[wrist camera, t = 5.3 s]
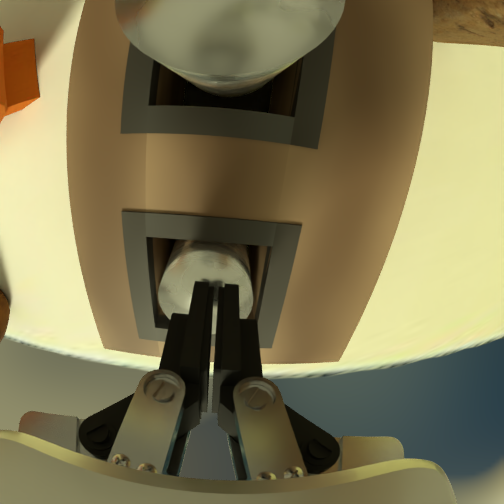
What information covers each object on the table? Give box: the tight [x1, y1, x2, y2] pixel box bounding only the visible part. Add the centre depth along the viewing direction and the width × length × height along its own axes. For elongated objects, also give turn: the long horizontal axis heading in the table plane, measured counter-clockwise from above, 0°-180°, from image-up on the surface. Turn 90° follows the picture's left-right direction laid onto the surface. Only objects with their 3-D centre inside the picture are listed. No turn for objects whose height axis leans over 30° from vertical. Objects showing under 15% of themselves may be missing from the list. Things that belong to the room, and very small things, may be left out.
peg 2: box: [158, 239, 253, 334], centre depth 14 cm, size 4×4×7 cm
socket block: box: [67, 0, 433, 364], centre depth 12 cm, size 14×22×7 cm, turn 173°
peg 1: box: [115, 0, 345, 97], centre depth 6 cm, size 4×4×7 cm
